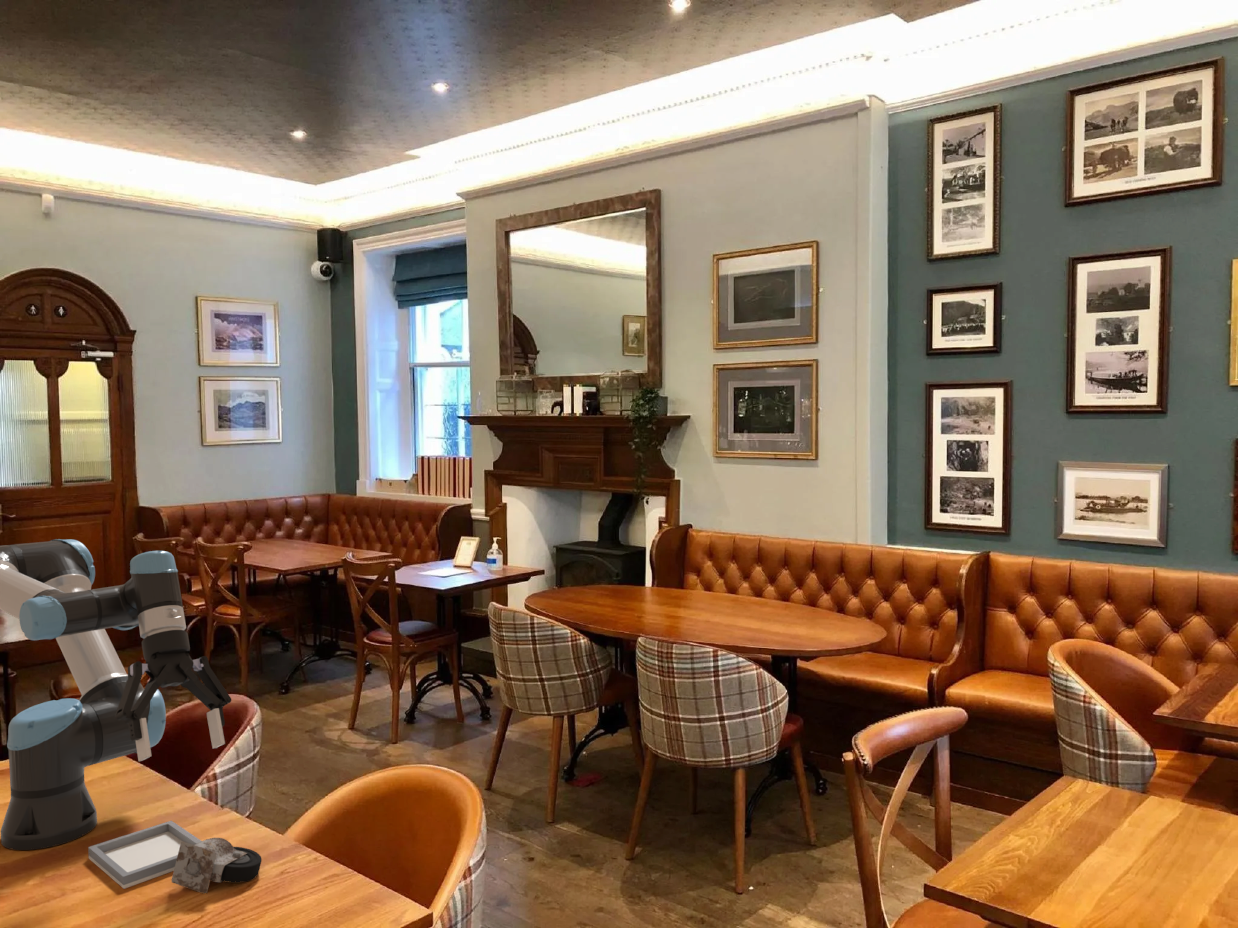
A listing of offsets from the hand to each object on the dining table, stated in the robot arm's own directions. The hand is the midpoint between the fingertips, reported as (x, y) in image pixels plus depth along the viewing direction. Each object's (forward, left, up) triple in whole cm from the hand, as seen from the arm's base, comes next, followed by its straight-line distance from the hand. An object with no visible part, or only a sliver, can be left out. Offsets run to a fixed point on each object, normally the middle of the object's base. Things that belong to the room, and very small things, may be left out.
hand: (183, 752), depth 160 cm
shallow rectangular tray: (-4, -5, -18) cm, 19 cm away
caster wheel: (+13, +1, -19) cm, 23 cm away
